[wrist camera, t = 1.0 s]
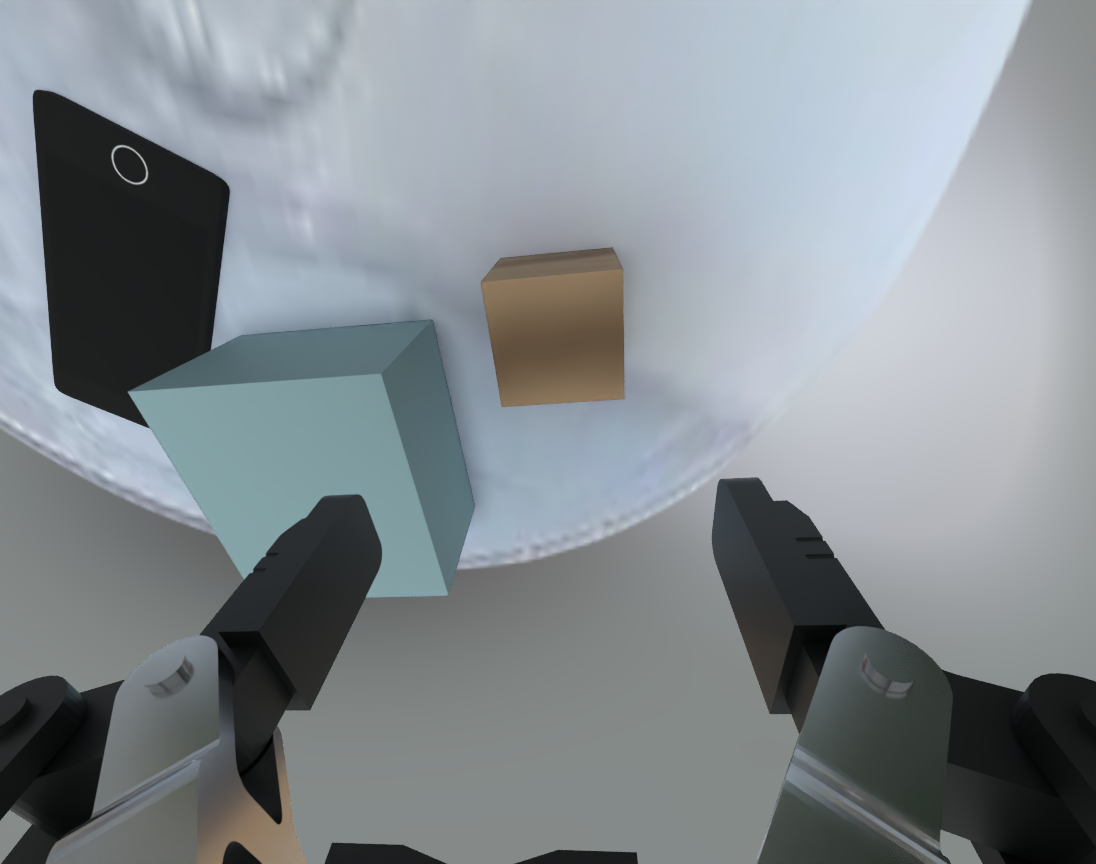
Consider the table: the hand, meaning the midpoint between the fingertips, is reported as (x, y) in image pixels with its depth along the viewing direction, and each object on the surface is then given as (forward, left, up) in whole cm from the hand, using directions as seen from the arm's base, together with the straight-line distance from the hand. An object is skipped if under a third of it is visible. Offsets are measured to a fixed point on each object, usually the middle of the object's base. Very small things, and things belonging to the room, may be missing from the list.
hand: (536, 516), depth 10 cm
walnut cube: (0, 0, -18) cm, 18 cm away
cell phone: (-3, -25, -18) cm, 31 cm away
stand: (+7, -14, -18) cm, 23 cm away
